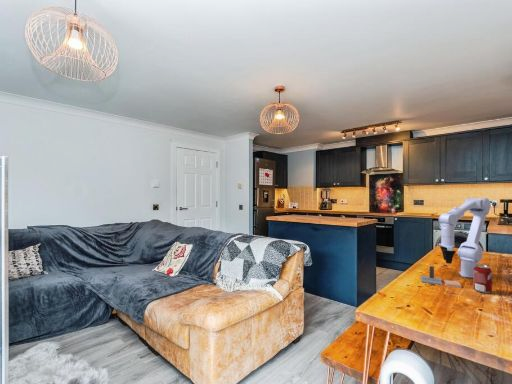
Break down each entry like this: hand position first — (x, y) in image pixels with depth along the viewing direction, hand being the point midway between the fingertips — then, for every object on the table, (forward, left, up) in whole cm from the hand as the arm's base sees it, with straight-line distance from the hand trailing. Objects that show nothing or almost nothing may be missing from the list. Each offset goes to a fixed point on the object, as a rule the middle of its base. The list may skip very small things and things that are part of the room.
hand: (447, 261), depth 145 cm
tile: (+6, +1, -9) cm, 11 cm away
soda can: (+13, +12, -10) cm, 20 cm away
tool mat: (+7, -8, -10) cm, 14 cm away
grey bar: (+6, -8, -9) cm, 14 cm away
